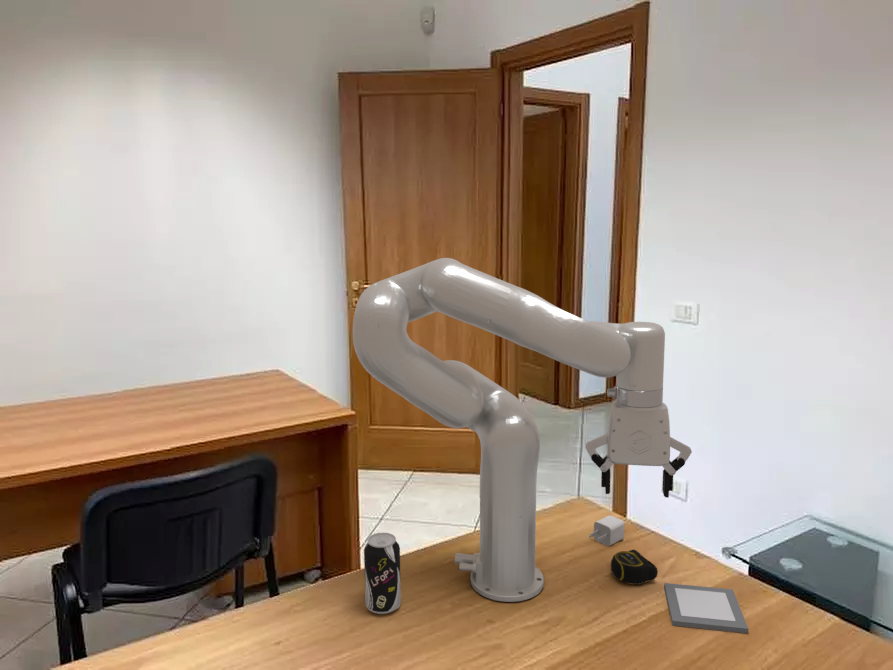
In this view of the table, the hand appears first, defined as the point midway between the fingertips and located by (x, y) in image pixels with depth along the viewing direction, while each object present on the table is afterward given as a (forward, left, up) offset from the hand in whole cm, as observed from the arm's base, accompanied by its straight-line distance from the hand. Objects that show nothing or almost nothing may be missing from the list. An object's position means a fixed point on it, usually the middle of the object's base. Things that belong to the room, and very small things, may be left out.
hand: (636, 492), depth 116 cm
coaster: (+11, -8, -16) cm, 21 cm away
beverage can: (-40, -17, -16) cm, 47 cm away
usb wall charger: (-4, +12, -16) cm, 20 cm away
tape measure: (0, 0, -16) cm, 16 cm away
